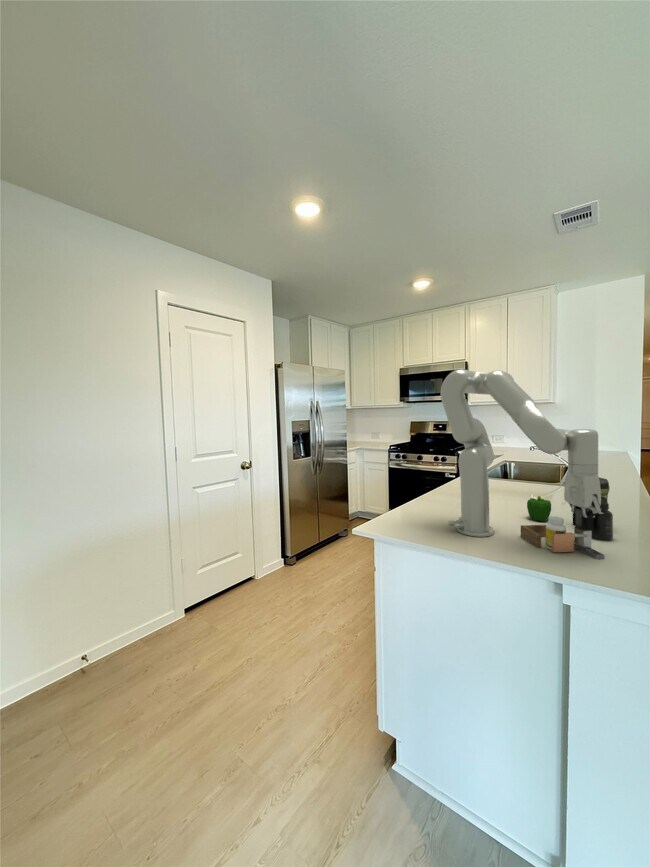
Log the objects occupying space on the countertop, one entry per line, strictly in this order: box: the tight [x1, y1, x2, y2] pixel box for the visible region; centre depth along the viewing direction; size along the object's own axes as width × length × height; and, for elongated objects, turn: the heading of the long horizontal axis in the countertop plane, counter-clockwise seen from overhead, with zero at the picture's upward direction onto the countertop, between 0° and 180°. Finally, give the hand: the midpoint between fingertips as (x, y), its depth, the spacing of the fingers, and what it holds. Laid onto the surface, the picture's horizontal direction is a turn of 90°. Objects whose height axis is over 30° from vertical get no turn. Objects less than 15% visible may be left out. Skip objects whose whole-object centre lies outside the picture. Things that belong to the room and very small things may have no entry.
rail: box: [574, 543, 605, 560], centre depth 110 cm, size 2×18×1 cm, turn 179°
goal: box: [520, 523, 547, 548], centre depth 116 cm, size 10×10×4 cm
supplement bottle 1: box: [545, 515, 567, 551], centre depth 109 cm, size 5×5×10 cm
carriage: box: [551, 509, 593, 553], centre depth 108 cm, size 12×4×12 cm, turn 89°
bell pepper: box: [526, 495, 552, 522], centre depth 138 cm, size 8×8×10 cm
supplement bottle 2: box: [588, 502, 614, 541], centre depth 117 cm, size 7×7×12 cm
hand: (582, 527), depth 107 cm, fingers closed on carriage, 3 cm apart
